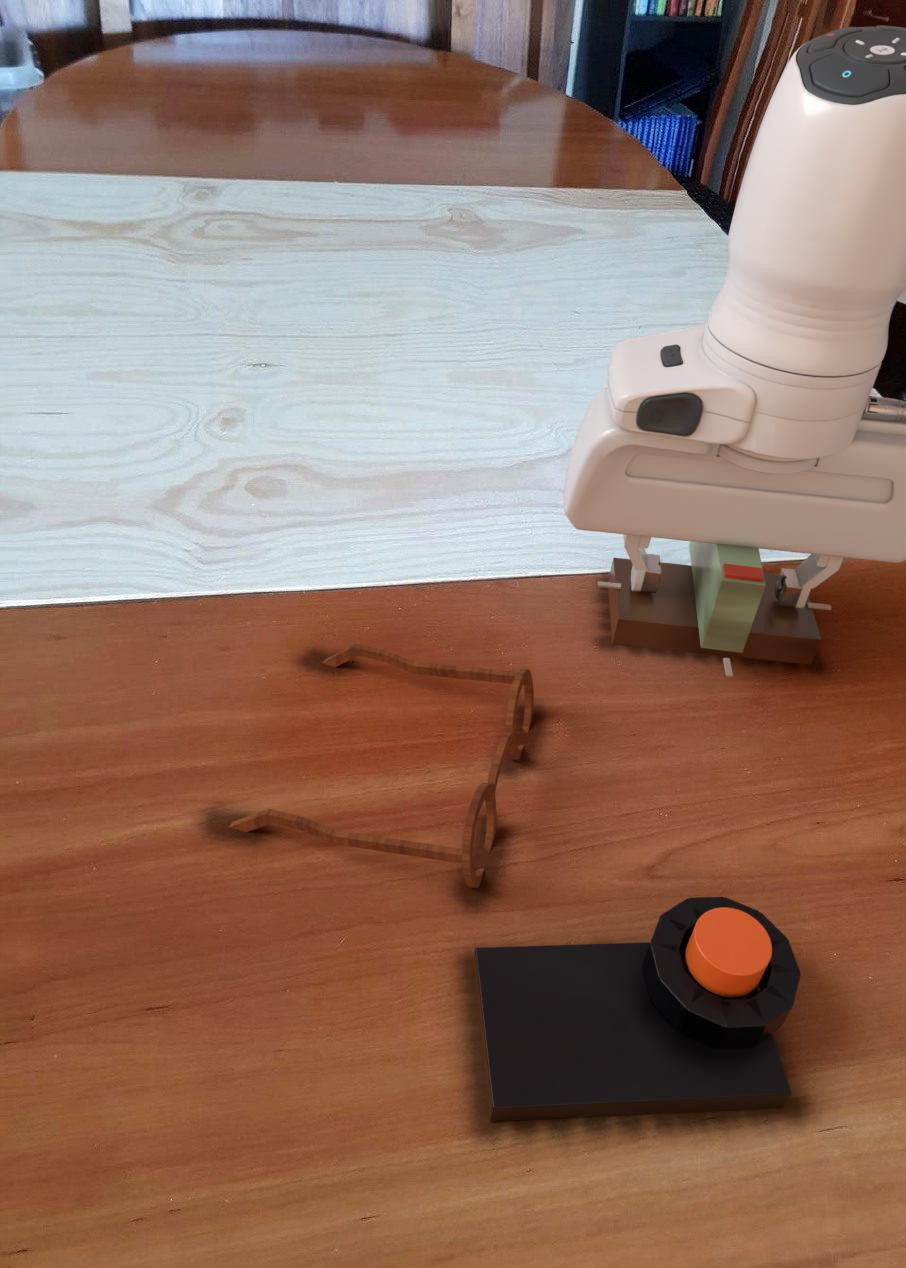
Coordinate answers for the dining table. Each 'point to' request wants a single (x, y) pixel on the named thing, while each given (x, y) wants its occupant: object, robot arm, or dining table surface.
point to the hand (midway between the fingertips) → (715, 593)
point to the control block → (629, 1027)
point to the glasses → (482, 793)
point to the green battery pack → (726, 593)
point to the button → (728, 952)
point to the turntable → (675, 621)
